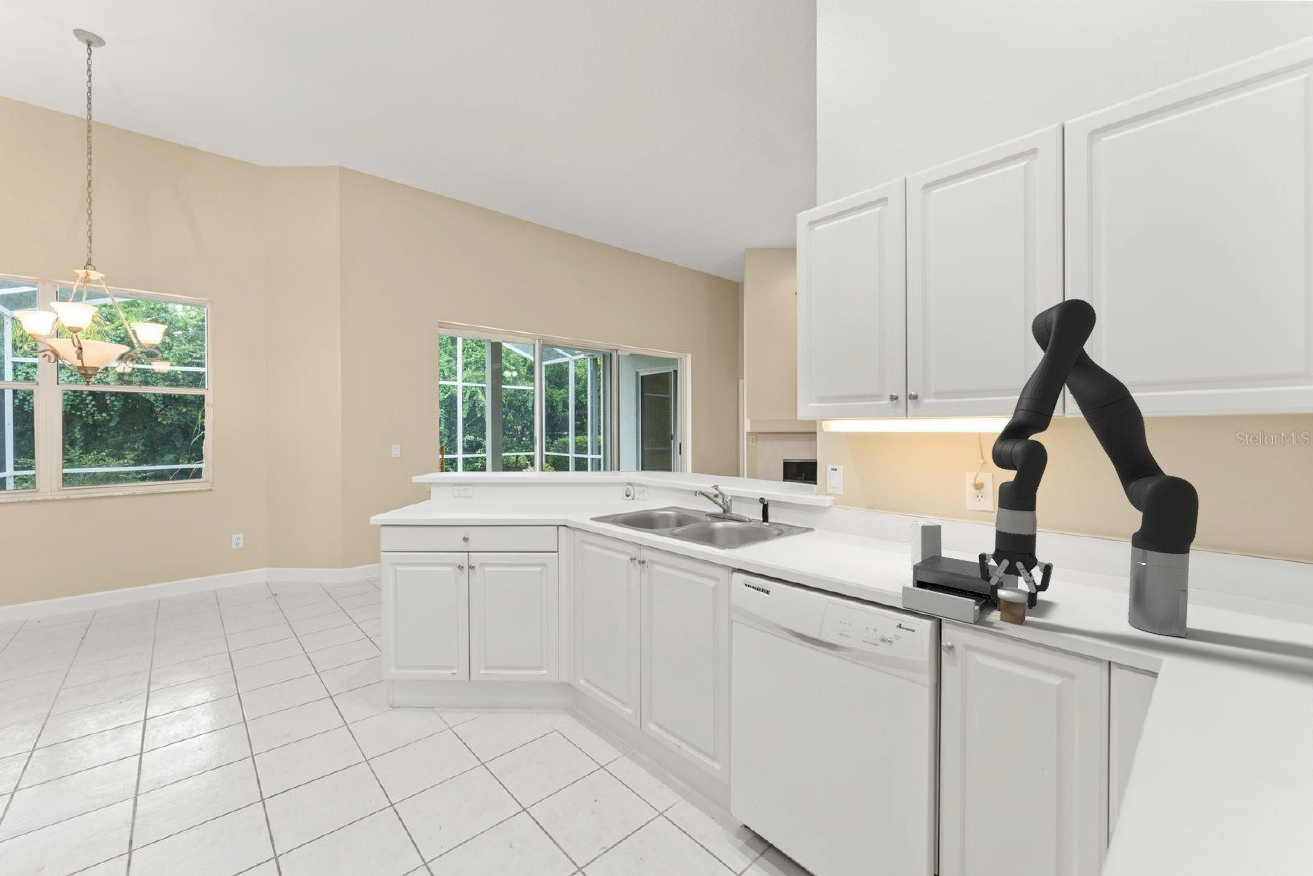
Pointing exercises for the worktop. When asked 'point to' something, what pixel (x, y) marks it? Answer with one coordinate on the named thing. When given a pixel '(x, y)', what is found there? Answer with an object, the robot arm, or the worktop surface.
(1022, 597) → the white rounded flat dome
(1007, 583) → the housing
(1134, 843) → the worktop surface
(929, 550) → the skincare box
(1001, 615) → the wooden block
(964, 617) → the tray
